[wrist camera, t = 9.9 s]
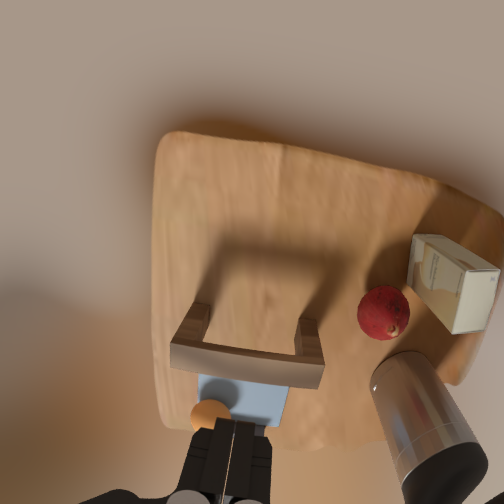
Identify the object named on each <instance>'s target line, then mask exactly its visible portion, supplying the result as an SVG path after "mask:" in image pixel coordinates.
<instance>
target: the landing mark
mask: <svg viewBox="0 0 504 504" xmlns="http://www.w3.org/2000/svg"><path fill="white" fill-rule="evenodd" d="M288 390H289V387H286V386H277V385H269V384H261V383H254V382H247V381H240V380H233V379H227V378H221V377H215V376H210V375H204V374H199V382H198V403H199V402H201V401H203V400H207V399H213V400H217V401H220V402H222V403H223V404H224V405H225V406H226V407H227V408H228V410H229V411H230V414H231V419H233V420H235V422H237V420H240V421H247V422H255V424H257V425H265V426H274V427H279V423H280V420H281V416H282V412H283V409H284V405H285V401H286V397H287V394H288Z"/></svg>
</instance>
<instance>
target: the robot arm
mask: <svg viewBox="0 0 504 504" xmlns="http://www.w3.org/2000/svg"><path fill="white" fill-rule="evenodd" d="M370 391H371V394H372V397H373V400H374V403H375V406H376V409H377V412H378V415H379V418H380V421H381V424H382V427H383V430H384V434H385V437H386V440H387V443H388V446H389V449H390V452H391V456H392V459H393V462H394V465H395V469H396V472H397V475H398V479H399V482H400V485H401V489H402V492H403V495H404V500H405V504H462V502H463V501H464V500H465V499H466V498H467V497H468V495H470V493H471V492H472V491H473V490H474V489H475V488H476V487H477V486H478V485H479V483H480V482H481V481H482V479H483V478H484V476H485V474H486V472H487V469H488V460H487V457H486V454H485V453H484V451H483V449H482V447H481V446H480V444H479V442H478V440H477V439H476V437H475V435H474V434H473V431H472V430H471V428H470V427H469V425H468V423H467V421H466V420H465V418H464V416H463V415H462V413H461V411H460V410H459V408H458V406H457V405H456V403H455V401H454V400H453V398H452V396H451V395H450V393H449V392H448V390H447V388H446V387H445V385H444V384H443V382H442V381H441V379H440V377H439V376H438V374H437V373H436V371H435V369H434V368H433V366H432V365H431V363H430V362H429V360H428V359H427V358H426V357H425V356H424V355H423V354H421V353H419V352H414V351H407V352H402V353H399V354H396V355H394V356H392V357H390V358H388V359H387V360H386V361H384V362H383V363H382V364H381V365H380V366H379V367H378V368H377V369H376V371H375V372H374V374H373V376H372V378H371V381H370ZM234 425H235V420H233V419H227V418H221V417H217V418H216V421H215V426H214V429H209V428H204V427H201V428H200V429H199V430H198V431H197V432H196V433H195V434H194V435H193V437H192V440H191V443H190V447H189V450H188V453H187V457H186V459H185V463H184V466H183V470H182V473H181V476H180V480H179V483H178V486H177V488H176V489H175V491H174V492H173V493H172V494H170V495H168V496H166V497H163V498H158V499H143V498H142V499H141V498H139V497H137V495H135V494H134V493H132V492H130V491H127V490H122V489H116V490H112V491H109V492H107V493H104V494H102V495H99V496H97V497H95V498H92V499H90V500H87V501H84V502H82V503H79V504H221V503H222V497H223V492H224V486H225V480H226V475H227V469H228V463H229V457H230V452H231V445H232V439H233V432H234ZM254 434H255V422H247V421H240V420H237V423H236V429H235V435H234V441H233V447H232V453H231V458H230V464H229V471H228V476H227V482H226V488H225V494H224V500H223V504H270V486H271V465H272V446H271V444H270V442H269V440H268V437H263V436H255V435H254ZM485 504H504V492H502V493H500V494H499V495H497V496H496V497H494V498H493V499H491V500H490V501H488V502H486V503H485Z"/></svg>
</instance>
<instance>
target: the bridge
mask: <svg viewBox="0 0 504 504" xmlns="http://www.w3.org/2000/svg"><path fill="white" fill-rule="evenodd" d="M209 309H210V305H205V304H199V303H193V304H192V306H191V307H190V309H189V311H188V312H187V314H186V316H185V318H184V319H183V321H182V323H181V325H180V326H179V328H178V330H177V332H176V333H175V335H174V337H173V339H172V340H171V342H170V368H174V369H179V370H184V371H189V372H194V373H199V374H204V375H210V376H215V377H221V378H227V379H233V380H240V381H247V382H254V383H261V384H269V385H277V386H286V387H296V388H306V389H318V387H319V384H320V381H321V378H322V374H323V371H324V368H325V362H324V357H323V353H322V348H321V343H320V338H319V334H318V329H317V325H316V320H309V319H301V318H299V320H298V325H297V329H296V334H295V338H294V343H295V355H287V354H279V353H271V352H264V351H257V350H250V349H243V348H236V347H230V346H224V345H218V344H212V343H206V342H202V341H203V338H204V336H205V333H206V331H207V329H208V321H209Z"/></svg>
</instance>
